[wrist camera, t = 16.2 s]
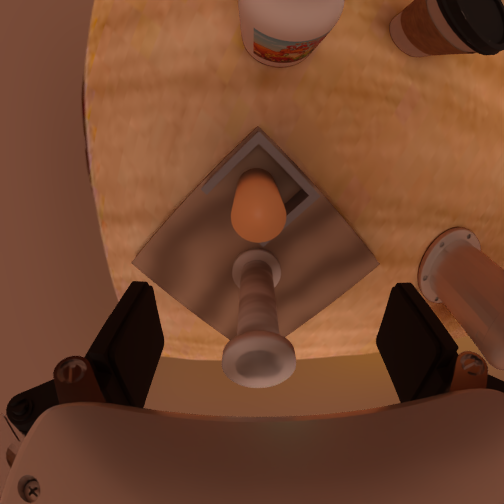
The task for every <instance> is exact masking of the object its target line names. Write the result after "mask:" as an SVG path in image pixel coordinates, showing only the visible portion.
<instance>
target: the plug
mask: <svg viewBox="0 0 504 504" xmlns="http://www.w3.org/2000/svg"><path fill="white" fill-rule="evenodd" d="M231 222H232V225H233V228H234V230H235V231H236V232H237V234H238V235H239V236H241V237H242V238H244V239H245V240H247V241H250V242H256V243H261V242H266V241H269V240H272V239H273V238H275V237H276V236H278V235H279V234H280V232H281V231H282V230H283V228H284V226H285V223H286V210H285V207H284V204H283V201H282V199H281V196H280V193H279V191H278V188H277V185H276V183H275V180H274V178H273V176H272V175H271V174H270V173H269V172H268V171H266V170H264V169H261V168H252V169H249V170H247V171H245V172H244V173H243V174H242V175H241V176H240V178H239V180H238V184H237V188H236V193H235V197H234V202H233V206H232V211H231Z"/></svg>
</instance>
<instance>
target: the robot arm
mask: <svg viewBox="0 0 504 504" xmlns="http://www.w3.org/2000/svg"><path fill="white" fill-rule="evenodd" d="M418 283H419V288H420V290H421V292H422V294H423V295H424V296H425V297H426V298H427V299H428V300H429V301H431V302H434V303H444V305H445V306H446V307H447V308H448V309H449V311H450V312H451V313H452V314H453V316H454V317H455V318H456V319H457V321H458V322H459V323H460V325H461V326H462V327H463V328H464V330H465V331H466V332H467V334H468V335H469V336H470V338H471V339H472V340H473V342H474V343H475V344H476V346H477V347H478V349H479V350H480V351H481V353H482V354H483V356H484V357H485V359H486V360H487V361H488V363H489V364H490V365H492V366H493V367H495V368H496V369H499V370H504V270H503V269H502V268H501V267H500V266H498V265H497V264H496V263H495V262H494V261H492V260H491V259H490V258H489V257H487V256H486V255H485V254H484V253H482V252H481V247H480V243H479V240H478V238H477V237H476V236H475V234H474V233H472V232H471V231H470V230H468V229H465V228H460V227H458V228H453V229H450V230H448V231H446V232H444V233H443V234H441V235H440V236H439V237H438V238H437V239H435V241H434V242H433V243H432V244H431V245H430V247H429V248H428V250H427V251H426V253H425V255H424V257H423V259H422V262H421V265H420V268H419V273H418ZM376 344H377V347H378V349H379V352H380V354H381V356H382V358H383V361H384V363H385V365H386V368H387V370H388V373H389V375H390V377H391V380H392V382H393V384H394V387H395V389H396V392H397V394H398V397H399V400H400V402H401V403H399V404H393V405H388V406H382V407H377V408H370V409H364V410H356V411H349V412H340V413H330V414H319V415H306V416H289V417H288V416H286V417H232V416H211V415H198V414H186V413H178V412H169V411H159V410H152V409H145V408H143V407H144V404H145V400H146V397H147V394H148V391H149V388H150V385H151V382H152V379H153V376H154V373H155V370H156V367H157V364H158V362H159V359H160V356H161V353H162V350H163V347H164V336H163V332H162V328H161V323H160V319H159V314H158V310H157V305H156V300H155V295H154V290H153V287H152V286H149V284H148V283H147V282H140V281H133V282H132V283H131V284H130V286H129V287H128V289H127V290H126V292H125V293H124V295H123V296H122V298H121V299H120V301H119V303H118V304H117V306H116V307H115V309H114V310H113V312H112V314H111V315H110V316H109V318H108V319H107V321H106V322H105V324H104V326H103V327H102V329H101V330H100V332H99V334H98V335H97V337H96V339H95V341H94V342H93V344H92V345H91V347H90V349H89V351H88V352H87V354H86V356H85V357H81V356H70V357H67V358H65V359H63V360H61V361H60V362H59V363H58V364H57V365H56V367H55V369H54V372H53V378H54V379H53V380H51V381H49V382H46V383H44V384H42V385H39V386H37V387H34V388H32V389H29V390H27V391H25V392H22V393H20V394H18V395H16V396H14V397H13V398H12V399H11V400H10V401H9V403H8V405H7V409H6V411H7V414H6V415H5V416H4V415H3V414H2V413H1V414H0V504H504V381H502V380H499V379H497V378H495V377H493V376H491V375H488V366H487V363H486V361H485V360H484V359H483V358H482V357H481V356H480V355H478V354H477V353H474V352H471V351H465V352H462V353H460V354H459V355H458V354H457V352H456V351H457V349H458V346H457V344H456V343H455V341H454V340H453V338H452V337H451V335H450V334H449V333H448V331H447V330H446V328H445V327H444V326H443V324H442V323H441V321H440V320H439V319H438V317H437V316H436V315H435V313H434V312H433V311H432V309H431V308H430V307H429V305H428V304H427V303H426V301H425V300H424V299H423V297H422V296H421V295H420V294H419V292H418V291H417V290H416V289H415V287H414V286H413V285H412V284H411V283H397V284H396V285H395V287H393V288H392V290H391V293H390V297H389V300H388V303H387V307H386V310H385V313H384V317H383V320H382V323H381V326H380V329H379V332H378V335H377V338H376Z"/></svg>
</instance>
